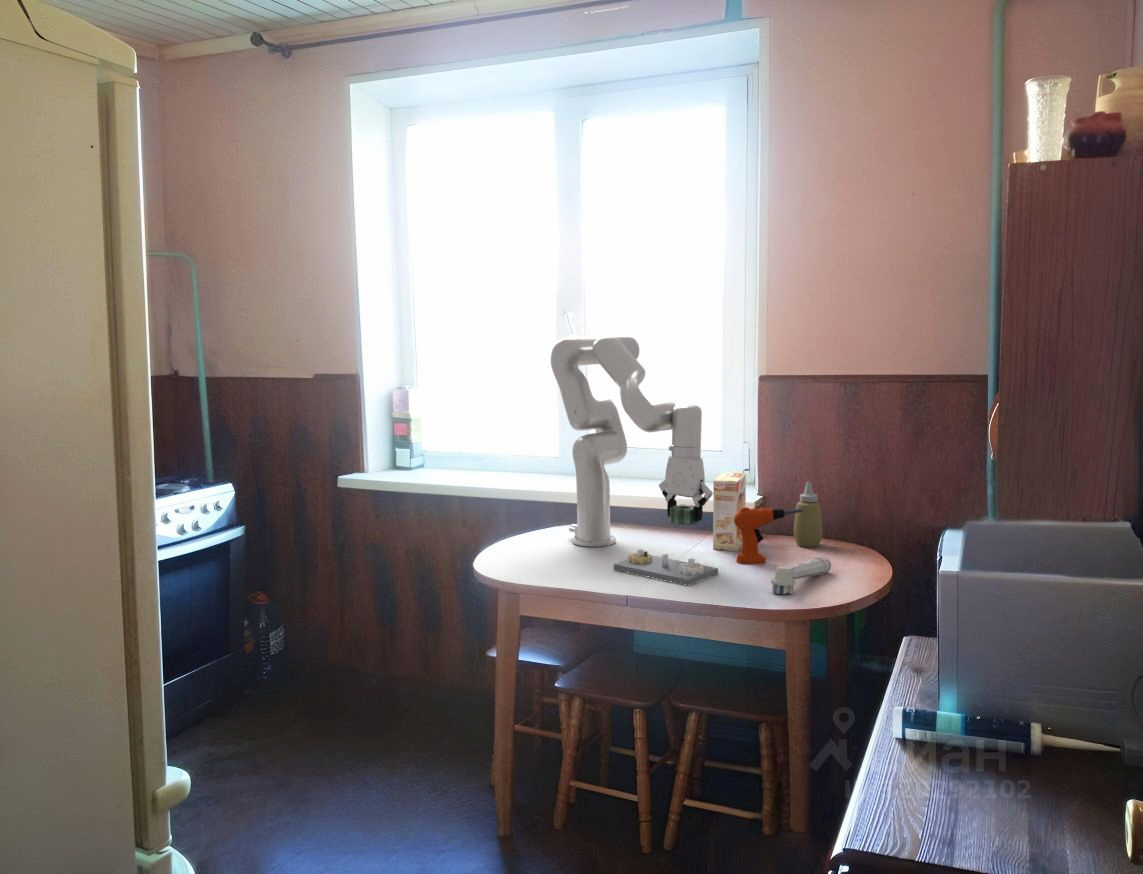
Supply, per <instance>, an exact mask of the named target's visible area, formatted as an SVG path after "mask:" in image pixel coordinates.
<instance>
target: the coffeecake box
mask: <svg viewBox="0 0 1143 874" xmlns="http://www.w3.org/2000/svg"><path fill="white" fill-rule="evenodd" d="M712 482H713V491H712V492H713V494H712V496H713V500H712V501H713V503H712V505H713V508H712V509H713V513H712V514H713V516H712V517H713V518H712V525H713V527H712V531H713V532H712V534H713V535H712V536H713V537H712V538H713V539H712V542H713V543H712V549H713V550H720V549H724V550H723V551H733V550H735V551H736V552H737V551H739V549H740V548H741V547H742V533H741V530H740V529H739V528H738V527H737V526H736V525H735V523H734V516H735V515H736V513H738V512H739V511H740V510H741V509H742V508H745V507H746V505H747V504H746V503H747V501H746V499H747V498H746V497H747V493H746V492H747V491H746V487H747V485H746V483H747V473H743V472H722V473H721V474H720V475H719V476H717V477H716V478H715V479H714V480H713V481H712Z"/></svg>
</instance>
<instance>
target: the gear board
mask: <svg viewBox="0 0 1143 874" xmlns="http://www.w3.org/2000/svg"><path fill="white" fill-rule="evenodd" d="M627 557H628V559H624V560H622V561H618V562H616V563H615V562H614V563H613V570H614V571H617V570H619V572H622V571H623V573H627V572H629V573H628V574H631V573H633V574H632V575H636V574H638V575H637V576H641V575H644V576H643V577H645V576H649V577H648V578H650V577H654V578H653V579H655V578H658V579H657V580H659V579H662V580H661V581H664V580H667V581H666V582H669V581H672V582H671V583H673V582H676V583H675V584H678V583H681V584H680V585H683V584H686V585H685V586H687V585H688V586H690V585H689V584H691V585H693V584H692V583H694V584H696V583H698V582H697V581H699V582H700V580H701V581H703V580H702V579H704V580H706V579H708V577H709V578H711V577H710V576H712V577H714V576H716V574H717V575H719V567H718V568H717V567H715V566H714V567H713V566H708V565H704V564H701V563H700V562H695V558H688V559H687V561H684V560H683V561H682V560H678V559H672V558H669V554H668V553H662V554H661V556H656V555H652V554H649V553H648V551H644V549H642V548H638V549H636V552H635V553H633V552H632V553H629V555H628V556H627ZM713 575H714V576H713ZM705 578H706V579H705ZM695 582H696V583H695Z"/></svg>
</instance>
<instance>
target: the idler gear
mask: <svg viewBox="0 0 1143 874" xmlns="http://www.w3.org/2000/svg"><path fill="white" fill-rule="evenodd" d="M694 506H695V504H694V505H693V504H690V505H688V504H684V503H683V504H678V505H673V506H672V507H670V517H669V523H671V524H673V525H676V526H680V525H682V526H686V527H687V526H691V525H692V526H696V525H698V524H699V523H700V521H697V522H694V521H693V507H694Z"/></svg>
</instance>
